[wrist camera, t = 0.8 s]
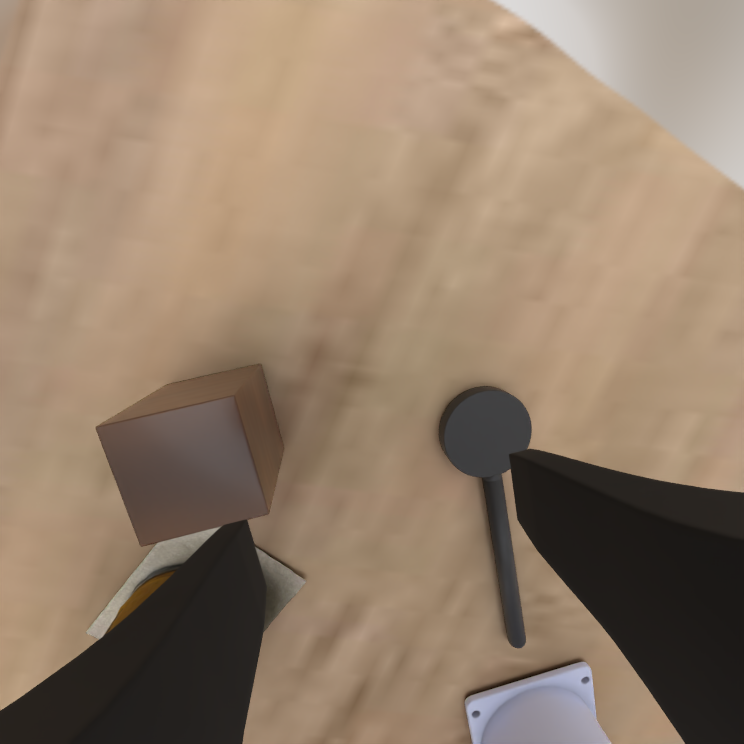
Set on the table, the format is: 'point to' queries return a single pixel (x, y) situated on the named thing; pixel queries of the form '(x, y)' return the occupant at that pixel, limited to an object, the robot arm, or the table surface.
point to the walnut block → (196, 454)
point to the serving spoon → (491, 474)
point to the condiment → (168, 560)
